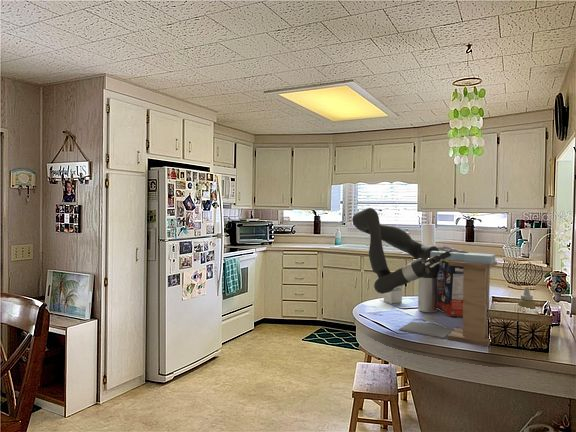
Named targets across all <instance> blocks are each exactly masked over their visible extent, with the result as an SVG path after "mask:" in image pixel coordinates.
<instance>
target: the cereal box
mask: <svg viewBox="0 0 576 432" xmlns="http://www.w3.org/2000/svg"><path fill="white" fill-rule="evenodd" d="M437 248H438V249H439V251H442V252H447V251H450V250H452V252H457V253H470V252H469V251H465V250H461V249H457V248H453V247H449V246H442V247H441V246H440V247H437ZM449 261H452V260H443V261H441V263H440V266H439V272H438V277H437V310H439V311H441V312H442V313H444V314H445V315H447V316H449V317H450V318H462V319H463V278H464V267H461V266H449Z"/></svg>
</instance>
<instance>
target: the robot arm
mask: <svg viewBox="0 0 576 432" xmlns="http://www.w3.org/2000/svg"><path fill="white" fill-rule="evenodd" d="M380 222H381V221H380V217H379V214H378V212H377V211H376V210H375V209H374V208H373V207H367V208H364V209H362V210H360V211H358V212H357V213H355V214H353V216H352V224H353V225H354V228H356V229H357V230H359V231H360V232H363V233H365V234H368V235H369V236H370V241H369V242H370V243H369V248H368V260H369V263H370V266H371V269H372V272H373V273H374V274H376V275H377V277H378V278H377V279H376V280H375V282H374V284H373V287H374V288H373V289H374V290H375V291H376V292H377V294H378V293H379V294H381V295H382V294H383V295H384V293H388V292H391V291H392V290H393V289H394V288H396V287H398V286H402V287H403V286H405V285H407V284H409V283H411V282H414V281H417V280H418V287H417V288H418V291H417V292H418V293H417V294H418V297H417V298H418V300H417V310H418V311H420V312H424V313H436V312H438V309H437V277H438V272H439V266H440V263H441V261H443V259H445V258H447V257H449V256H451V254H450V252H452V250H450V251H447V252H445V253H443V254H441V256H440V255H438V256H433V257H431V258H430V252H431V251H439V249H438V248H439V247H437V246H434V245H429V244H422V243H420V242H418V241H415V240H414V239H413V238H412V237H411V236H410V234H409V233H408V232H407V231H405V230H403V229H402V228H400V227H398V226H396V225H395V226H394V225H389V224H384V223H380ZM383 242H385V243H387V244H388V245H390V246H391V247H393V248H395V249H398V250H400V251H402V252H404V253H406V254H408V255H409V256H411V257H413V258H414V259H415V260H413V261H411V262H409V263H408V264H405V265H404V266H402V267H401V268H398V269H396V270H394V271H393V272H391V271H390V268H389V267H388V264H387V259H386V256H385V255H386V254H385V253H384V248H383Z"/></svg>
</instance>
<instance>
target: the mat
mask: <svg viewBox="0 0 576 432" xmlns="http://www.w3.org/2000/svg"><path fill="white" fill-rule="evenodd" d="M455 329H456V328H453V327H448V326H447V327H446V326H441V325H435V324H430V323H429V324H428V323H423V322H416V321H410V322H408V323H407V324H405V325H404V326H402V327H400V328H399V329H398V330H399V331H400V332H406V333H407V332H408V333H410V334H411V333H412V334H418V335H422V336H428V337H433V338H439V339H446V338H448V334H450V333H451V332H452V331H453V330H455Z"/></svg>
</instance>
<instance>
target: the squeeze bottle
mask: <svg viewBox="0 0 576 432" xmlns="http://www.w3.org/2000/svg"><path fill="white" fill-rule="evenodd" d="M523 291H524V292H523V293H522V294H521V295H520V299H518V301H517V306H518V305H519V306H522V307H526V308H530V309H536V308H537V306H536V301H534V296H533V295H532V294H531V291H530V288H529V287H528V286H525V287H524V290H523ZM536 310H537V309H536Z"/></svg>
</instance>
